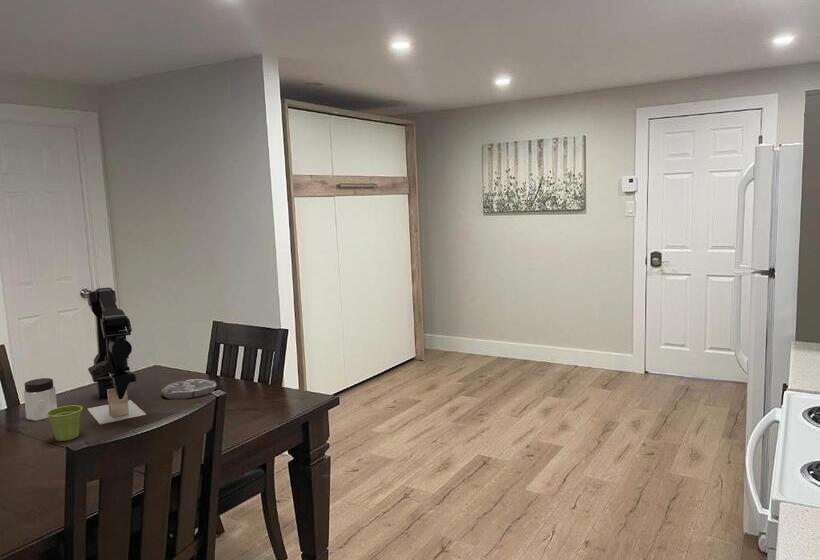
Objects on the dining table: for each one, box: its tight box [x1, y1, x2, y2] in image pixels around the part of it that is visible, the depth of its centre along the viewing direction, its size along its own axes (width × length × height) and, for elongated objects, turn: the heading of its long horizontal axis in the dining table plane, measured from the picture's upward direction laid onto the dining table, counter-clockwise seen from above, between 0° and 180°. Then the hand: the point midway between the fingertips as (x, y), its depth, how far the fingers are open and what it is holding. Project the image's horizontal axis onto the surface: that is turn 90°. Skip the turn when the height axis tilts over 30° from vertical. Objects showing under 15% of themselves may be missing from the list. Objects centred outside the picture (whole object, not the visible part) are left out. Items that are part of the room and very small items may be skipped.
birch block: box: [107, 388, 129, 418], centre depth 202 cm, size 5×5×8 cm
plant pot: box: [46, 405, 83, 442], centre depth 183 cm, size 9×9×9 cm
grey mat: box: [87, 399, 147, 425], centre depth 205 cm, size 20×14×1 cm
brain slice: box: [160, 378, 217, 400], centre depth 226 cm, size 20×17×3 cm
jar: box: [23, 377, 58, 422], centre depth 202 cm, size 9×8×12 cm
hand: (120, 398), depth 198 cm, fingers closed
